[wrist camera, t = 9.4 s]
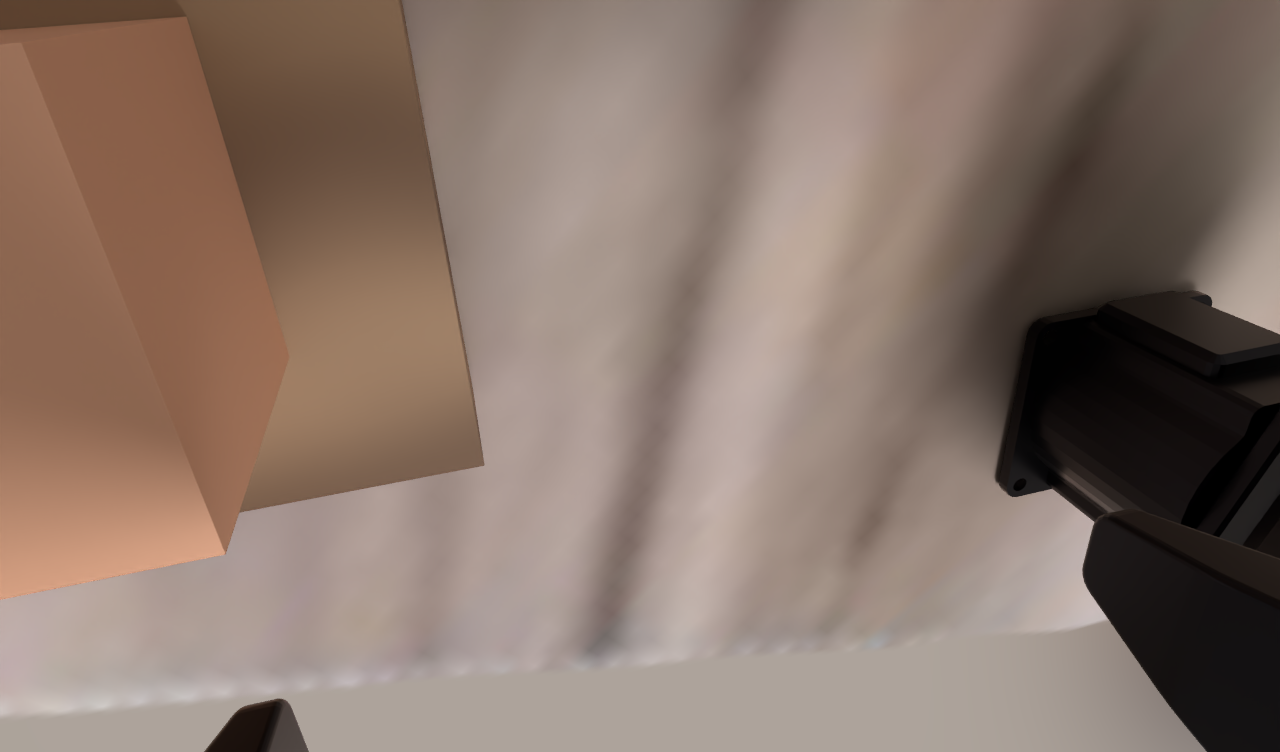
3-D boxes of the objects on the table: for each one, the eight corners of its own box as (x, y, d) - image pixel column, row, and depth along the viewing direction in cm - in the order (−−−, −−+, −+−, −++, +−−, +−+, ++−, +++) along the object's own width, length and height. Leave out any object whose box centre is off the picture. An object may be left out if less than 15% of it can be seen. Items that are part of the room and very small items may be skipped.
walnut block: (472, 385, 21) (484, 465, 17) (-42, 472, 18) (-148, 586, 15) (373, -158, 15) (361, -199, 12) (-385, -133, 13) (-682, -177, 9)
